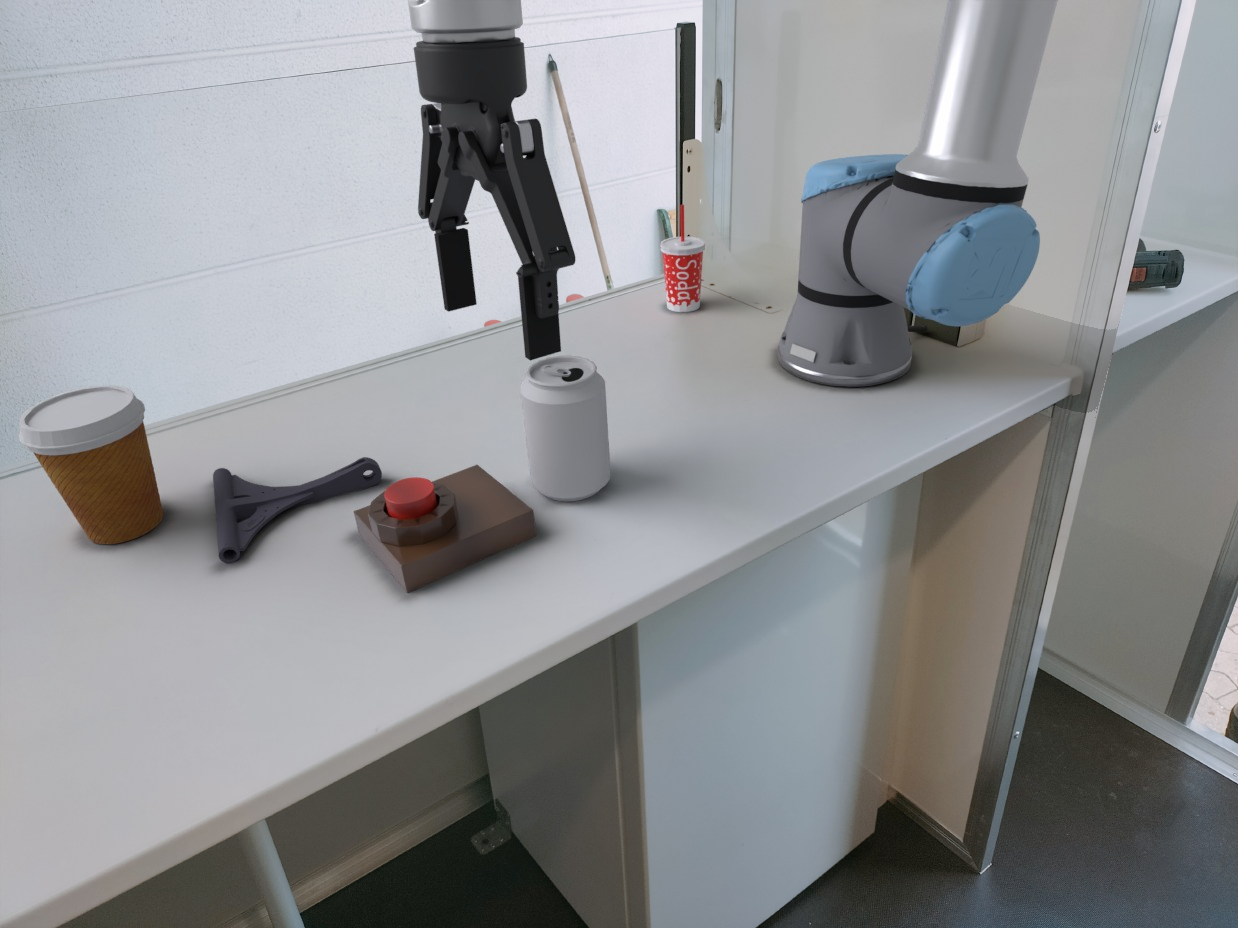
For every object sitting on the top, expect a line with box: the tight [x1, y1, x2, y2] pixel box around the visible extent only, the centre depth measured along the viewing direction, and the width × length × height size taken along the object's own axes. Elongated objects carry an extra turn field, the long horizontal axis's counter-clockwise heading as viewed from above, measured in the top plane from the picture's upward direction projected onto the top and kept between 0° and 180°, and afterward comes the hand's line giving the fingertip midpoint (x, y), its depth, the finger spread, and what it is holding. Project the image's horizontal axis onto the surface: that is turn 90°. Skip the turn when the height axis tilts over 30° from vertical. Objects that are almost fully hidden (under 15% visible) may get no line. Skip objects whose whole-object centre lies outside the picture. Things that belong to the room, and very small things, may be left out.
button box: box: [353, 464, 537, 594], centre depth 72 cm, size 12×10×4 cm
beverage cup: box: [659, 204, 706, 313], centre depth 116 cm, size 6×6×14 cm
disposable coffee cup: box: [18, 384, 164, 545], centre depth 75 cm, size 10×10×12 cm
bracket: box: [212, 456, 383, 564], centre depth 79 cm, size 14×15×3 cm
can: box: [519, 354, 612, 502], centre depth 77 cm, size 8×8×12 cm
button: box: [384, 476, 437, 520], centre depth 70 cm, size 4×4×2 cm
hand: (499, 329), depth 69 cm, fingers open, 13 cm apart
